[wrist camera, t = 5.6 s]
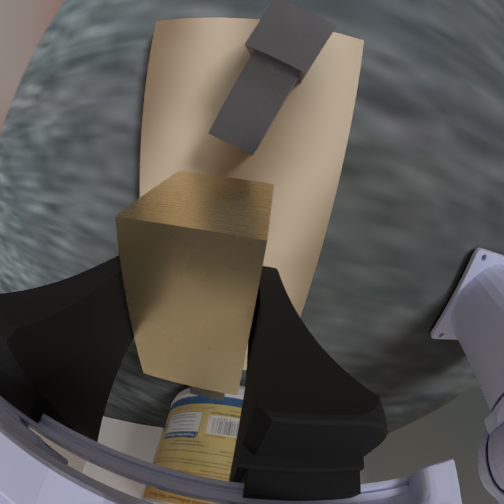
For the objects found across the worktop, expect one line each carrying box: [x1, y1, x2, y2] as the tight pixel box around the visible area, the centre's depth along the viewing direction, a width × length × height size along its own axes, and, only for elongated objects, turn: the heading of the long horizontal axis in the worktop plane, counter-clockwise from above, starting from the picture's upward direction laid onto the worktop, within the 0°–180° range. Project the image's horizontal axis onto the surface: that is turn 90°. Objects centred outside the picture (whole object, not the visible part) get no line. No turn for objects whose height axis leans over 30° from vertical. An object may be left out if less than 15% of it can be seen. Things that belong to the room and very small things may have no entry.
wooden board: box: [140, 18, 364, 370], centre depth 15 cm, size 10×22×1 cm, turn 172°
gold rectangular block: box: [116, 171, 274, 395], centre depth 10 cm, size 4×7×5 cm, turn 172°
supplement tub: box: [142, 385, 245, 504], centre depth 17 cm, size 12×12×17 cm
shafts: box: [190, 0, 337, 401], centre depth 13 cm, size 4×22×3 cm, turn 172°
